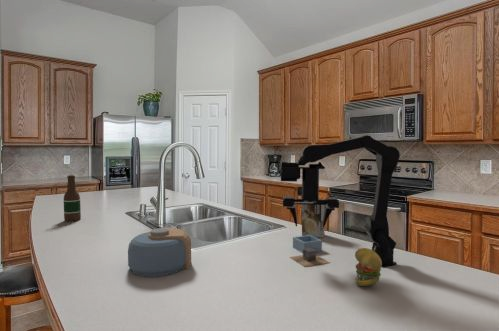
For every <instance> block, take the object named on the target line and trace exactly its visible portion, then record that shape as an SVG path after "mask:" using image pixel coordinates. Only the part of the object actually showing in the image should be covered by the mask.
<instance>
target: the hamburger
mask: <svg viewBox="0 0 499 331" xmlns="http://www.w3.org/2000/svg"><path fill="white" fill-rule="evenodd" d="M375 248H376V247H375ZM375 248H374V251H375ZM374 251H373V250H372V248H371V249H370V248H367V247H361V248H358V249H357V250H356V251H355V252H354V257H355V259H356V261H358V263H357V264H355V269H356V270H355V272H356V278H355V280H354V282H355V284H356V285H357V286H360V287H369V286H372V285H375V284H377V283H378V282H379V280H380V277H381V276H382V274H381V271H382V260H381V258H380V257H379V255H378V254H377V253H376V252H374Z"/></svg>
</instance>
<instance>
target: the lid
mask: <svg viewBox="0 0 499 331" xmlns="http://www.w3.org/2000/svg"><path fill="white" fill-rule="evenodd" d="M289 258H290V259H291V260H293V261H294V262H296V263H297V264H299V265H300V266H302V267H304V268H308V267H315V266H320V265H325V264H326V265H327V264H331V262H330V261H329V260H326V259H324V258H322V257H321V256H319V255H317V252H316V250H314V249H312V248H307V249H303V253H302V254H300V255H293V256H289Z"/></svg>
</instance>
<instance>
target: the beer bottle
mask: <svg viewBox="0 0 499 331" xmlns="http://www.w3.org/2000/svg"><path fill="white" fill-rule="evenodd" d="M66 178H67V187H66V188H67V189H66V191H65V193H64V195H63V219H64V221H65V222H69V223H70V222H72V221H73V222H77V221H81V219H82V218H81V217H82V215H81V214H82V213H81V209H82V208H81V195H80V194H79V192H78V191H77V186H76V176H75V175H73V174H71V175H67V177H66ZM73 222H72V223H73Z"/></svg>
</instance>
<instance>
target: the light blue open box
mask: <svg viewBox="0 0 499 331" xmlns="http://www.w3.org/2000/svg"><path fill="white" fill-rule="evenodd" d="M292 248H293V249H295V250H297V251H298V252H300V253H302V254H303V249H307V248H312V249H314V250H316V253H317V252H322V251H323V240H322V239H321V238H319V237H313V236H311V235H306V236H303V235H300V236H292Z"/></svg>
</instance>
